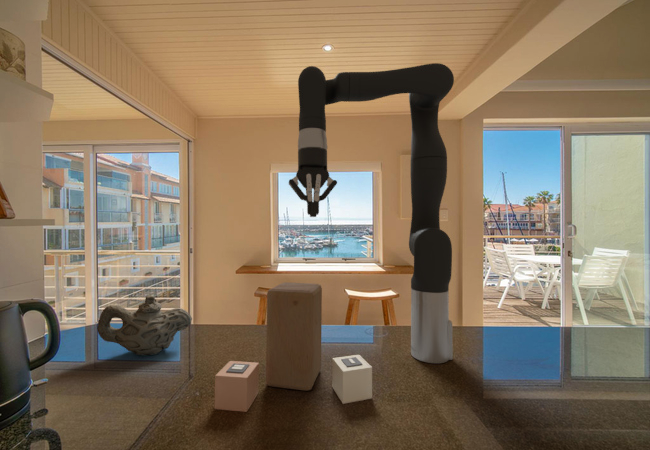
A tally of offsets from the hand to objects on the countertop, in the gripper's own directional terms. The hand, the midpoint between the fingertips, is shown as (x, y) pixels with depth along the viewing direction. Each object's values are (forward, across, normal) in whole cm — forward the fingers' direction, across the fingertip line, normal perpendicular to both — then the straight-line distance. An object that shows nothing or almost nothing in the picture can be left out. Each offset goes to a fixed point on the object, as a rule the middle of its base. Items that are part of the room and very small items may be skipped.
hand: (313, 216), depth 74 cm
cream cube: (+36, -5, +17) cm, 40 cm away
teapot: (+35, +43, -10) cm, 56 cm away
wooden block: (+36, +5, +9) cm, 38 cm away
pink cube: (+36, +17, +16) cm, 43 cm away
